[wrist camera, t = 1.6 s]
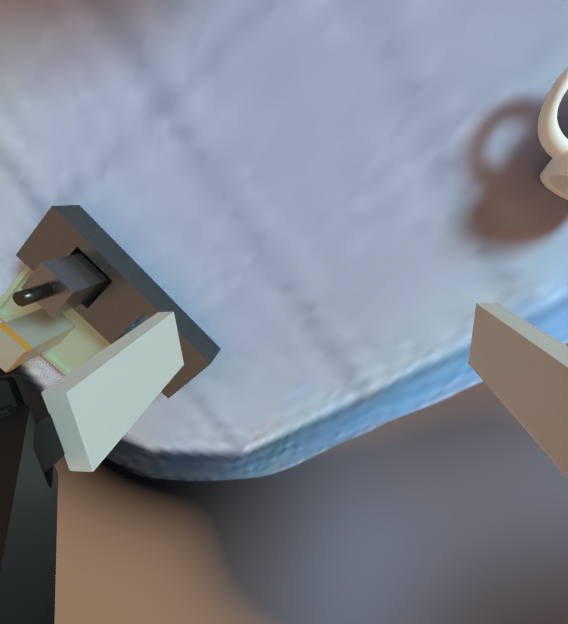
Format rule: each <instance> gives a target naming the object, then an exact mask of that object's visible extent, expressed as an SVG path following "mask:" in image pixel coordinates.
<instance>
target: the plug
mask: <svg viewBox="0 0 568 624" xmlns="http://www.w3.org/2000/svg"><path fill="white" fill-rule="evenodd" d="M74 328H75V325H74V324H73V323H72V322H71V321H70V320H69V319H67V318H66V317H65V316H64V315H63V314H62V313H60V314H58V315H56V316H53V317H52V316H51V315H50V314H48V313H47V312H46V311H45V310H44V309H43V308H41V309H39V310H36V311H34V312H31V313H29V314H26V315H23V316H21V317H18V318H16V319H13V320H10V321H8V322H5V323H1V324H0V368H1V369H2V370H4V371H5V372H8V371H11V370H13V369H15V368H16V367H17V366H19V365H21V364H23V363H25V362H27V361H28V360H30V359H32V358H34V357H36V356H38V355H39V354H41V353H43V352H45V351H47V350H49V349H50V348H52V347H54V346H56V345H58V344H60V343H61V342H62V341H63V340H64V338H65V337H66V336H67V335H68V334H69V333H70V332H71V331H72V330H73V329H74Z"/></svg>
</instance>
